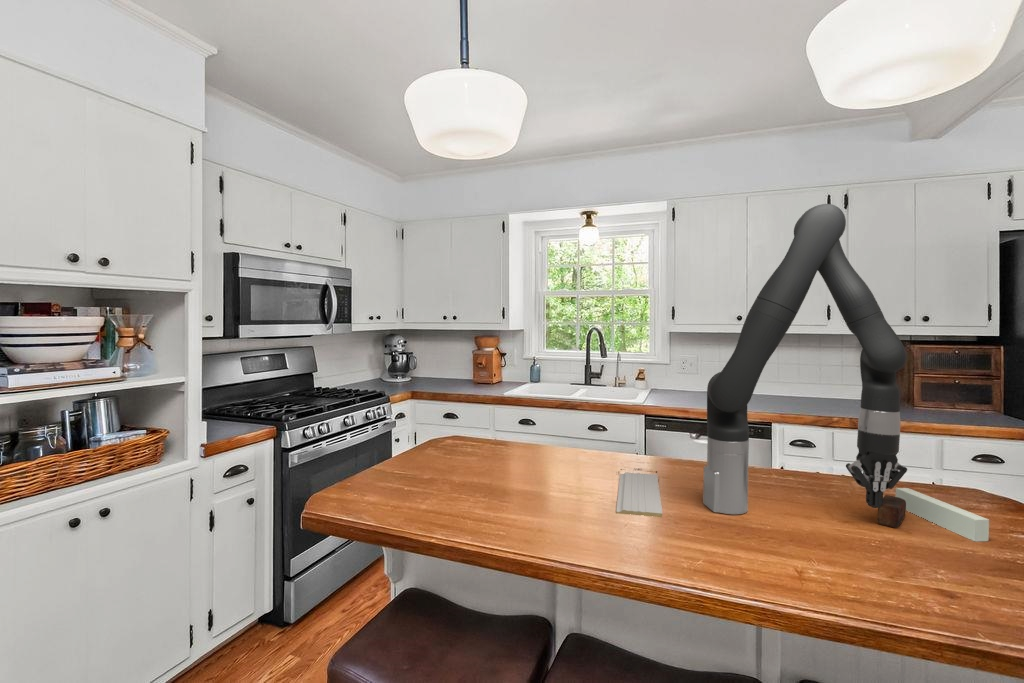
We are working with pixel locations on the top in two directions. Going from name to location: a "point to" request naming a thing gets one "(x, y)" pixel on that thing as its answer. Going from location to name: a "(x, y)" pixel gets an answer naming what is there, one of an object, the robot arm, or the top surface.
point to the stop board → (945, 515)
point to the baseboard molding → (639, 494)
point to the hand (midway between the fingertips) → (874, 506)
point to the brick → (891, 511)
